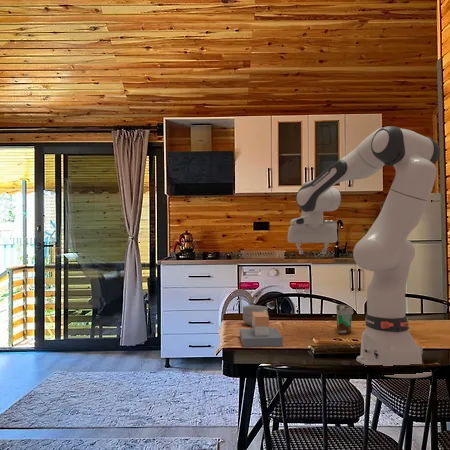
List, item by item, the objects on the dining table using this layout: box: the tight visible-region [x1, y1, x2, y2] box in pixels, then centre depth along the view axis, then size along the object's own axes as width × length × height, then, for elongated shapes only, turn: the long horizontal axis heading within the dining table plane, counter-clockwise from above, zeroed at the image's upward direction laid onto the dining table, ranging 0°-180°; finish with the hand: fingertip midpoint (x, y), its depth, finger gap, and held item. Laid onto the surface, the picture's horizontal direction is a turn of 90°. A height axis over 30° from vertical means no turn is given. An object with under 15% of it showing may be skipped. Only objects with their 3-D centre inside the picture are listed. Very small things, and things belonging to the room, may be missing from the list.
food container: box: [336, 304, 354, 336], centre depth 161 cm, size 12×6×10 cm, turn 168°
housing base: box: [251, 322, 270, 336], centre depth 148 cm, size 5×9×4 cm, turn 3°
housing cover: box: [252, 312, 270, 327], centre depth 148 cm, size 5×9×4 cm, turn 3°
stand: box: [239, 327, 284, 348], centre depth 148 cm, size 14×14×3 cm
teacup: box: [242, 304, 269, 327], centre depth 173 cm, size 14×11×8 cm
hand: (312, 254), depth 165 cm, fingers open, 8 cm apart
